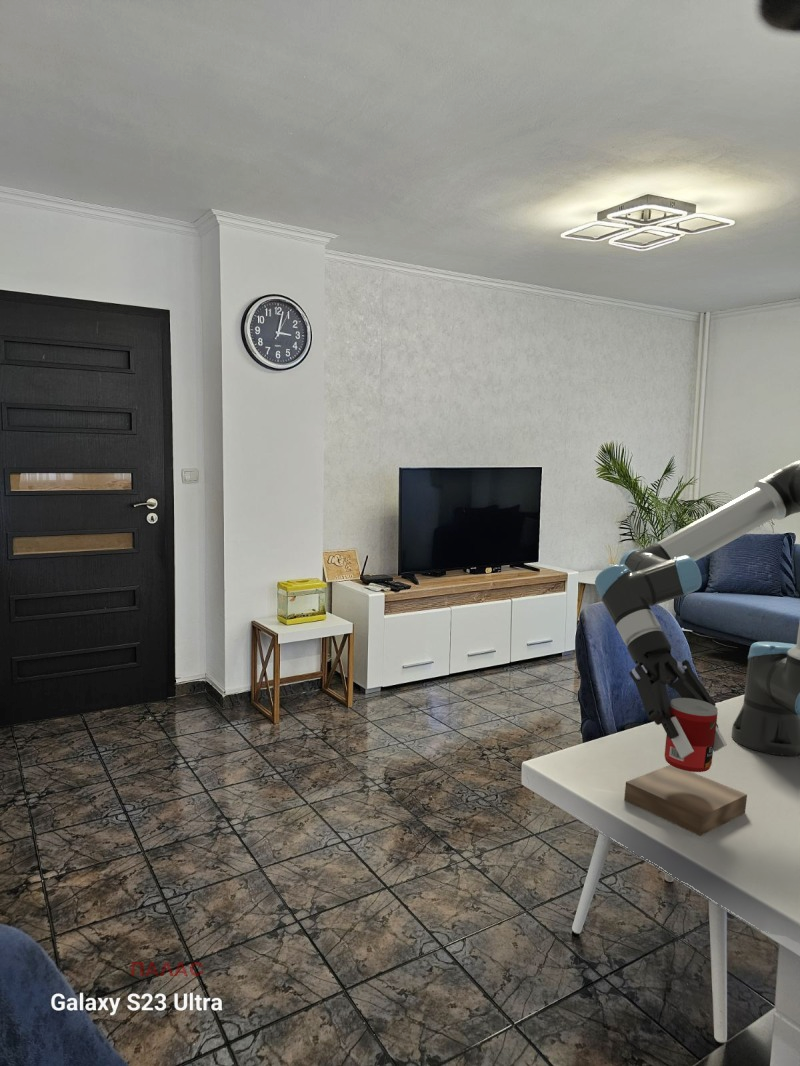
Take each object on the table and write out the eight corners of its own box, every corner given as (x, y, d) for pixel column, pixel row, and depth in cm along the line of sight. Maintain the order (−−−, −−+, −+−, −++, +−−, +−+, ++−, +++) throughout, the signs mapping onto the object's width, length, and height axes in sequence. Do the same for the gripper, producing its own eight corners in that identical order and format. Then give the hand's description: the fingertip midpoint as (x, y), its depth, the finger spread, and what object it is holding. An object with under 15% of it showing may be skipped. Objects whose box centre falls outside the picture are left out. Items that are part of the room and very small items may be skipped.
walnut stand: (670, 781, 147) (671, 764, 146) (745, 812, 135) (747, 794, 135) (624, 800, 137) (625, 781, 137) (700, 836, 126) (702, 816, 125)
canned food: (715, 775, 131) (722, 714, 129) (667, 769, 132) (673, 708, 131) (706, 758, 138) (713, 700, 137) (661, 752, 140) (667, 695, 138)
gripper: (669, 644, 152) (729, 752, 139) (592, 652, 142) (648, 768, 130) (694, 625, 146) (757, 735, 134) (615, 631, 137) (676, 750, 124)
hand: (704, 751), depth 132 cm, fingers closed on canned food, 8 cm apart
